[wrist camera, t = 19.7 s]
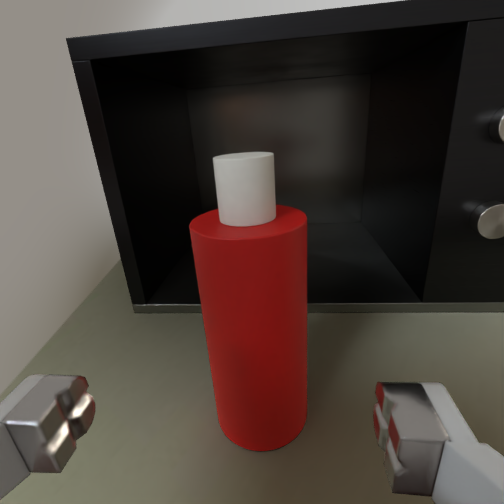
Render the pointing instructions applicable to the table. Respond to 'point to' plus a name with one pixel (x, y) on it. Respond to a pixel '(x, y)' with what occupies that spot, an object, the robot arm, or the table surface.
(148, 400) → the table surface
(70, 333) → the table surface
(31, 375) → the robot arm
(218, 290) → the sauce bottle
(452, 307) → the toaster oven
